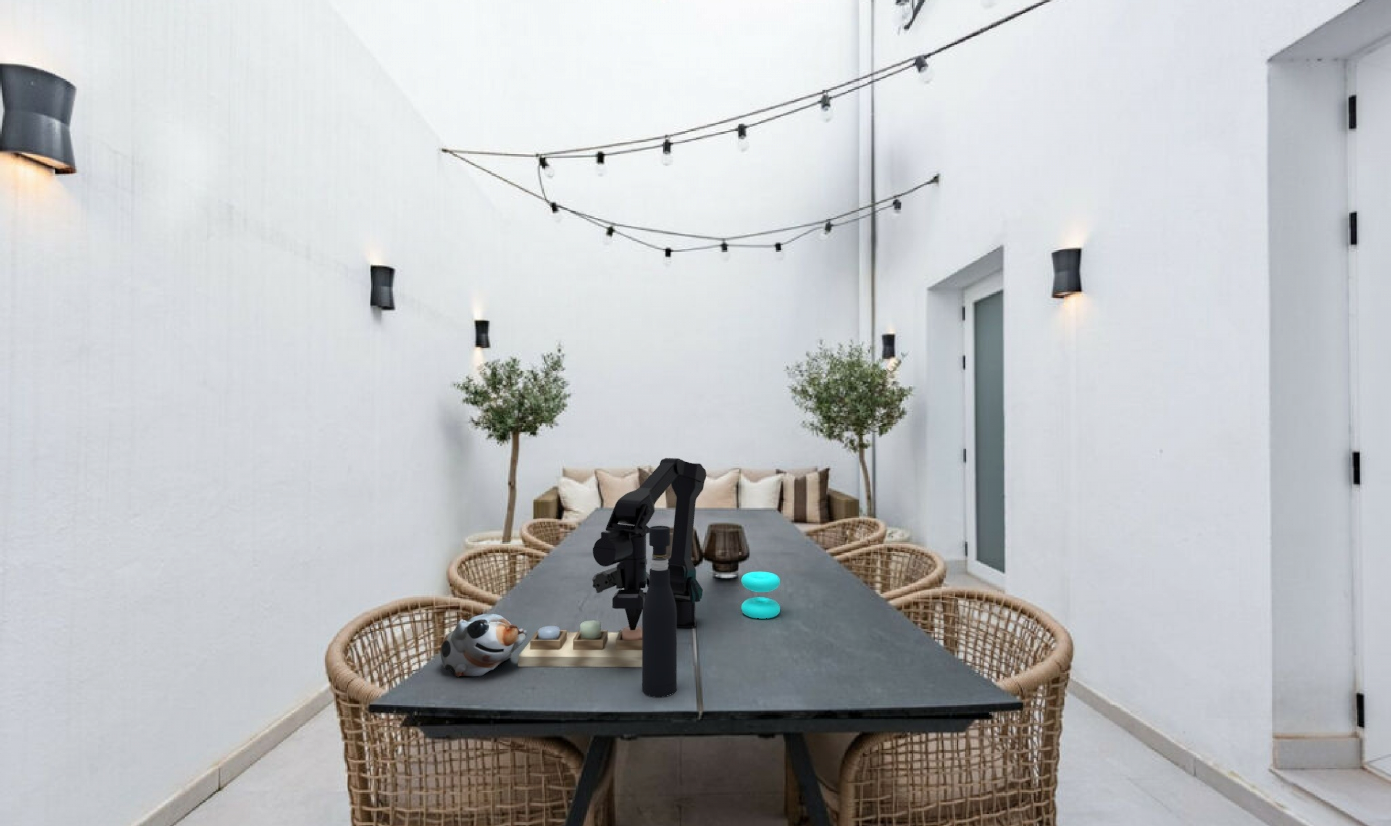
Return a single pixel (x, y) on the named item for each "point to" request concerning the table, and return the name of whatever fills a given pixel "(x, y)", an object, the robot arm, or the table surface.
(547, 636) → the button slate
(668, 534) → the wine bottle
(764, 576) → the donuts
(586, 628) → the button sage
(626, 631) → the button terracotta
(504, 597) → the table surface
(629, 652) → the button board
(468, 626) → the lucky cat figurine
